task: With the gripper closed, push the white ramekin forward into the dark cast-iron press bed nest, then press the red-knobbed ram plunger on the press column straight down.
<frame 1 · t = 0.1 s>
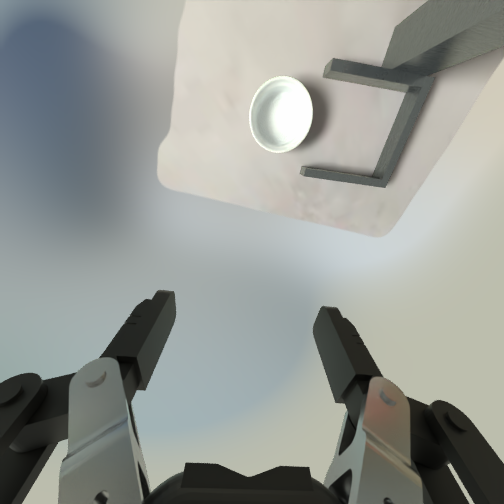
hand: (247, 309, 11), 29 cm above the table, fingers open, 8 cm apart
ramekin: (277, 120, 31), on the table
press: (349, 132, 31), on the table
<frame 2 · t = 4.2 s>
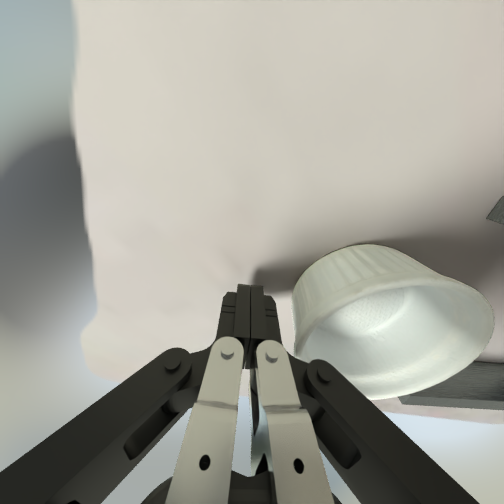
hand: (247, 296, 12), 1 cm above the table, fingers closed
ramekin: (347, 292, 13), on the table, touching gripper
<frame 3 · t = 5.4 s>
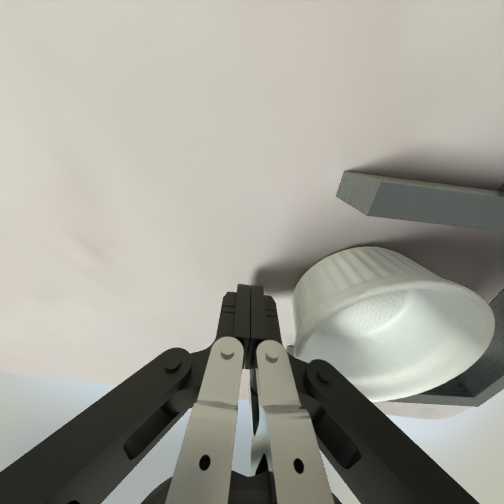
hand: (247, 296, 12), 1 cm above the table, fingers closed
ramekin: (347, 293, 13), on the table, touching gripper
press: (400, 296, 13), on the table
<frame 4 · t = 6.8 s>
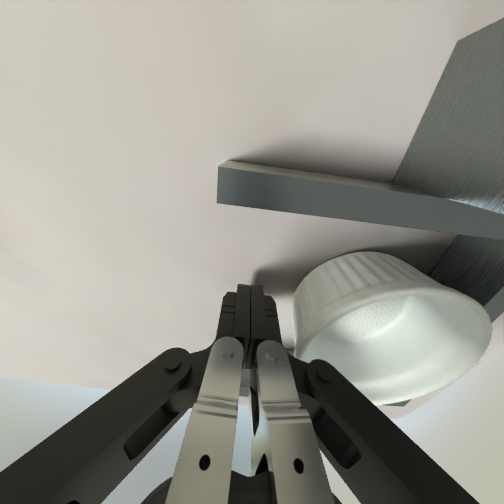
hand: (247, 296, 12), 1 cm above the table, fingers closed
ramekin: (346, 297, 13), on the table, touching gripper
press: (318, 293, 13), on the table
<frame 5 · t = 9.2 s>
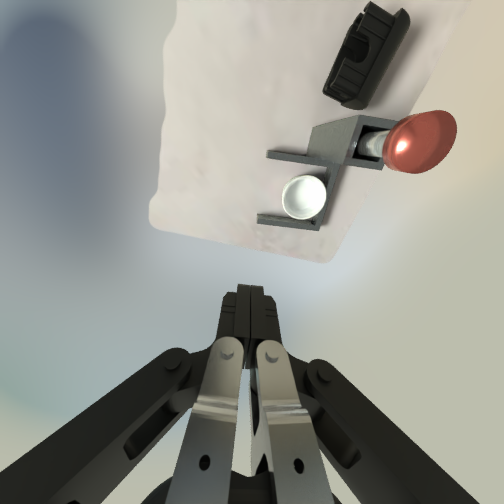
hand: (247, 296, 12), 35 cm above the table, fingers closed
ramekin: (299, 193, 43), on the table
end cap: (352, 71, 33), on the table
ram plunger: (384, 144, 20), point 21 cm above the table, slide at 0.0 cm
press: (290, 191, 43), on the table
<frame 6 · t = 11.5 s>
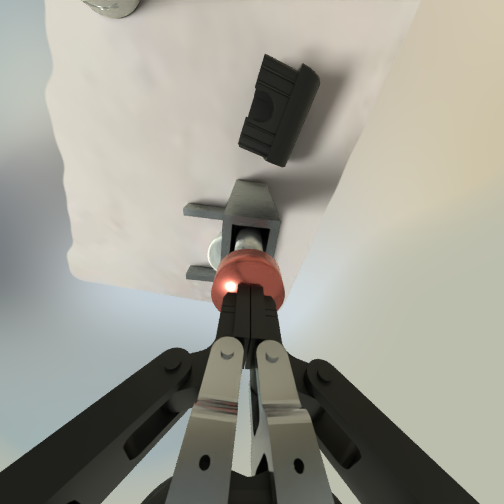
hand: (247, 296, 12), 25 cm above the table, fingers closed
ramekin: (234, 245, 38), on the table
end cap: (272, 120, 28), on the table
ram plunger: (248, 251, 16), point 20 cm above the table, slide at 1.0 cm, touching gripper
press: (223, 243, 38), on the table
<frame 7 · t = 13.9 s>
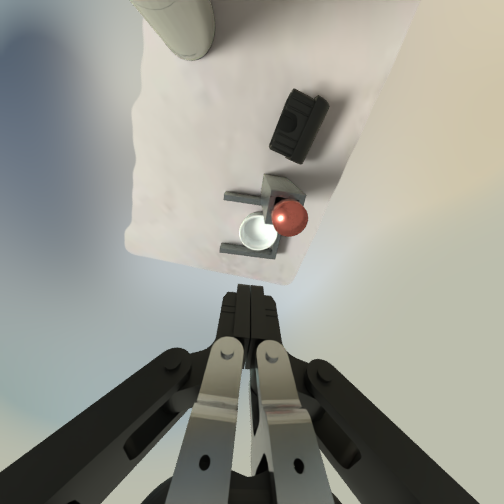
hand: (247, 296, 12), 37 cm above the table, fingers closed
ramekin: (257, 226, 49), on the table
end cap: (293, 131, 39), on the table
ram plunger: (283, 208, 29), point 17 cm above the table, slide at 3.5 cm
press: (249, 224, 48), on the table
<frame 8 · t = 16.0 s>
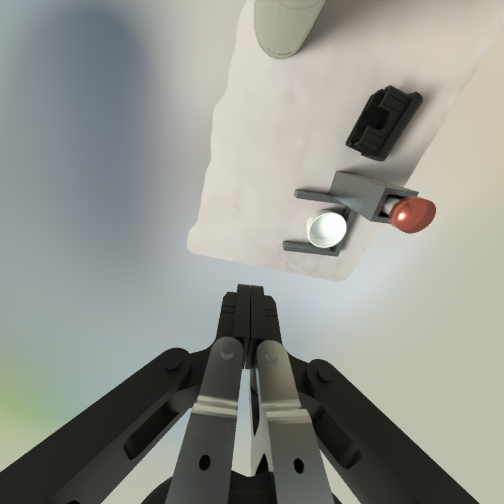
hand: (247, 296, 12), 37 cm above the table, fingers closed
ramekin: (321, 224, 49), on the table
end cap: (371, 127, 39), on the table
ram plunger: (389, 205, 29), point 17 cm above the table, slide at 3.5 cm
press: (313, 222, 48), on the table
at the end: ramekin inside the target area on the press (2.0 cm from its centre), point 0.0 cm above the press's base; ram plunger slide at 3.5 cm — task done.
